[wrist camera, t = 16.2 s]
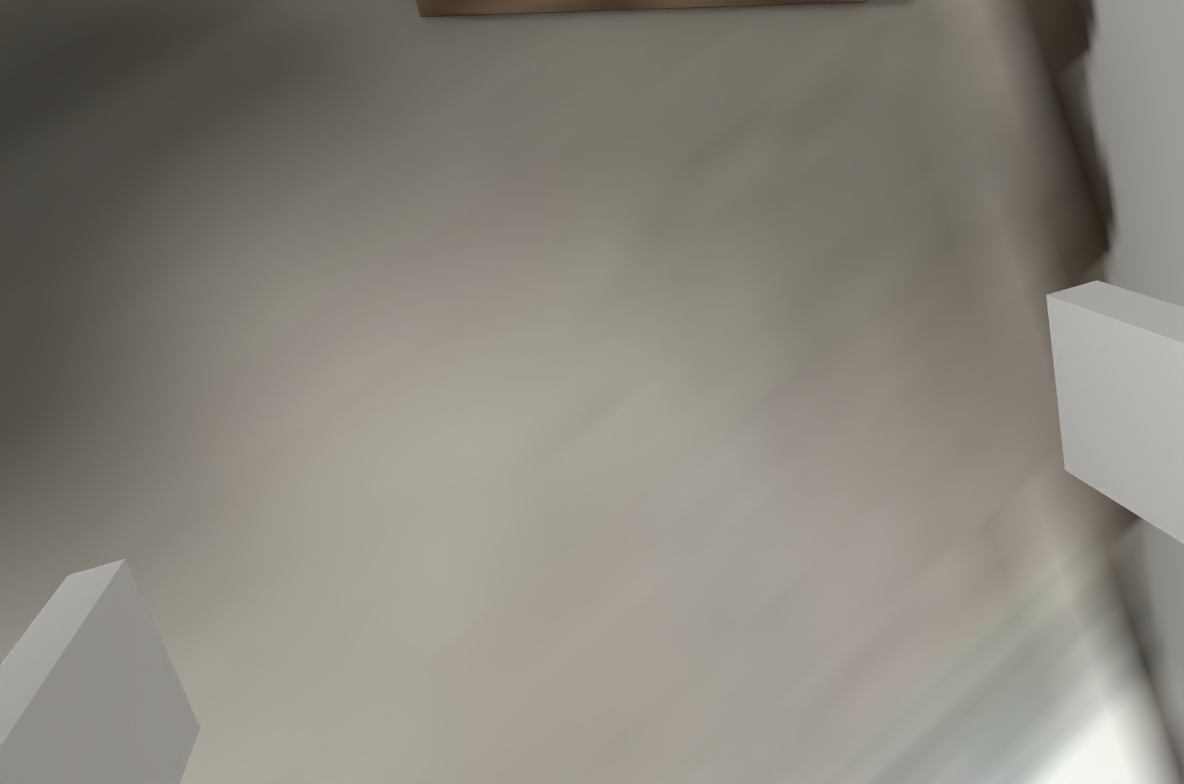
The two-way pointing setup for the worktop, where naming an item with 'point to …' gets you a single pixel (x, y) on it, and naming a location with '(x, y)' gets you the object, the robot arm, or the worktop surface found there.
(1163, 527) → the robot arm
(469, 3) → the seat plate
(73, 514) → the worktop surface
